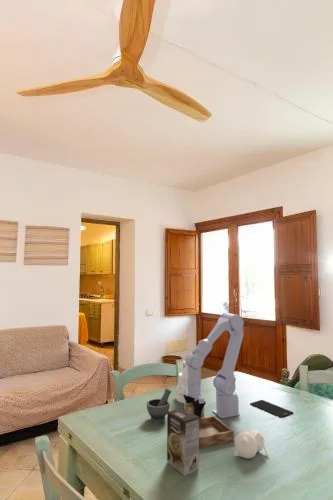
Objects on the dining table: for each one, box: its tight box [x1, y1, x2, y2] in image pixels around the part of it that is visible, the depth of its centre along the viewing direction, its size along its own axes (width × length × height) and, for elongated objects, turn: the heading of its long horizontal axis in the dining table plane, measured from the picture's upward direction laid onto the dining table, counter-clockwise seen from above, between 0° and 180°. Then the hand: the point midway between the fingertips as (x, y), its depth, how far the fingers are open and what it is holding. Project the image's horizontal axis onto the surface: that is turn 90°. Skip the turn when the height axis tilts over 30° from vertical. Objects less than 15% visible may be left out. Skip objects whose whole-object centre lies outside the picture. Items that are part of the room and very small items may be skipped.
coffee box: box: [166, 407, 200, 477], centre depth 104 cm, size 9×6×16 cm
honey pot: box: [175, 360, 203, 404], centre depth 162 cm, size 13×13×18 cm
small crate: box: [183, 403, 205, 418], centre depth 138 cm, size 7×5×6 cm
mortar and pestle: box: [146, 388, 172, 424], centre depth 138 cm, size 11×9×12 cm
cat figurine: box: [233, 428, 270, 460], centre depth 110 cm, size 9×11×12 cm
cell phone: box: [249, 399, 294, 419], centre depth 149 cm, size 9×18×1 cm, turn 33°
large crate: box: [199, 415, 235, 449], centre depth 123 cm, size 15×15×4 cm
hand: (194, 415), depth 138 cm, fingers open, 6 cm apart
